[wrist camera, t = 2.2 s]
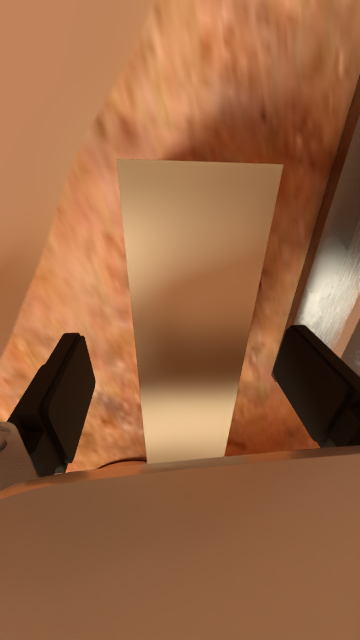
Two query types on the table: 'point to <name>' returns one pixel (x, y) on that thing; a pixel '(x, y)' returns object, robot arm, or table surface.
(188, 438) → the door panel
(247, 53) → the table surface
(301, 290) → the door track
